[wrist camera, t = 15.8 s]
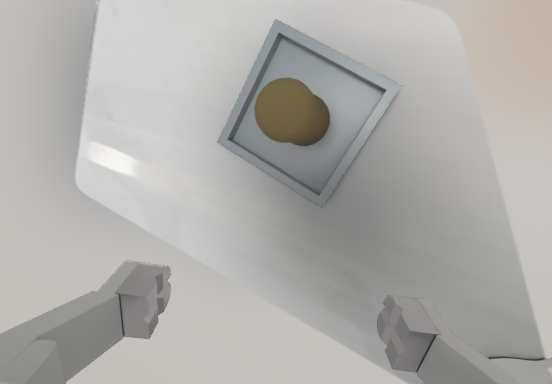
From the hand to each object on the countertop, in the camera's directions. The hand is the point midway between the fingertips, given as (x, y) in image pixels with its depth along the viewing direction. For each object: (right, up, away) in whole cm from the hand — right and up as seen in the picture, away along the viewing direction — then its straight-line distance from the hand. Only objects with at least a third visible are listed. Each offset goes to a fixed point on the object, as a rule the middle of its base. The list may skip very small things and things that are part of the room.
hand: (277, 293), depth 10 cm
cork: (+3, +12, +21) cm, 24 cm away
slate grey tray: (+3, +13, +22) cm, 25 cm away
